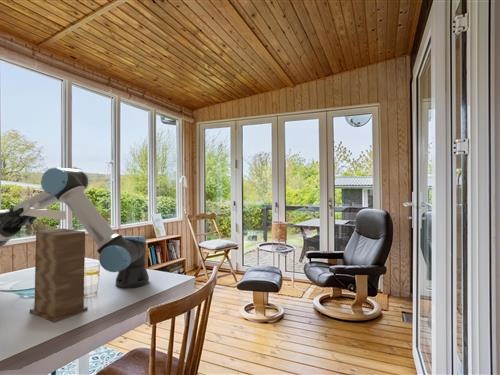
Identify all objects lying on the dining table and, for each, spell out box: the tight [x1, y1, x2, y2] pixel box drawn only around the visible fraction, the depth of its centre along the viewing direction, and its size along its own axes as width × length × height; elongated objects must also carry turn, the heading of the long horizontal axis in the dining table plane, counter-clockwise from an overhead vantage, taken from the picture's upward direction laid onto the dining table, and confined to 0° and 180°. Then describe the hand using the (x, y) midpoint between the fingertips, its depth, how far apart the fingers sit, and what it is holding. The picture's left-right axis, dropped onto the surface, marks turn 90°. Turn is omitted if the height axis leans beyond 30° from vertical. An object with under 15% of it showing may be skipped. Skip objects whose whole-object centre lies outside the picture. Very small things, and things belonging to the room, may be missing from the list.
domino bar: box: [19, 207, 67, 221], centre depth 116 cm, size 28×3×3 cm, turn 63°
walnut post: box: [29, 228, 89, 323], centre depth 110 cm, size 16×12×30 cm
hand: (33, 205), depth 119 cm, fingers closed on domino bar, 3 cm apart
